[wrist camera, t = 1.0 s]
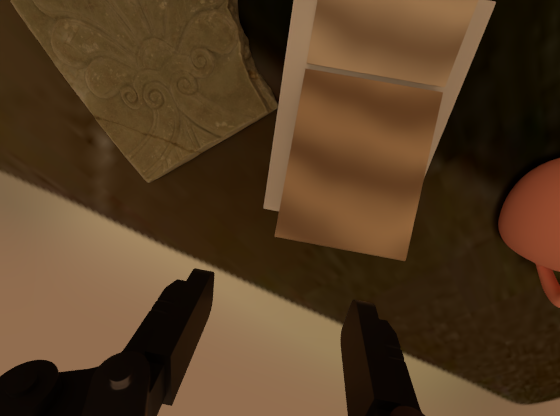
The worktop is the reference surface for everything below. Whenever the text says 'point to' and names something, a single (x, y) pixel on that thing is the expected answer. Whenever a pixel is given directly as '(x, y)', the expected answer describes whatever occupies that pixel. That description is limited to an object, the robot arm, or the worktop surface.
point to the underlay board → (296, 69)
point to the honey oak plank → (357, 163)
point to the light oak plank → (391, 37)
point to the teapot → (536, 223)
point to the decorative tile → (155, 72)
